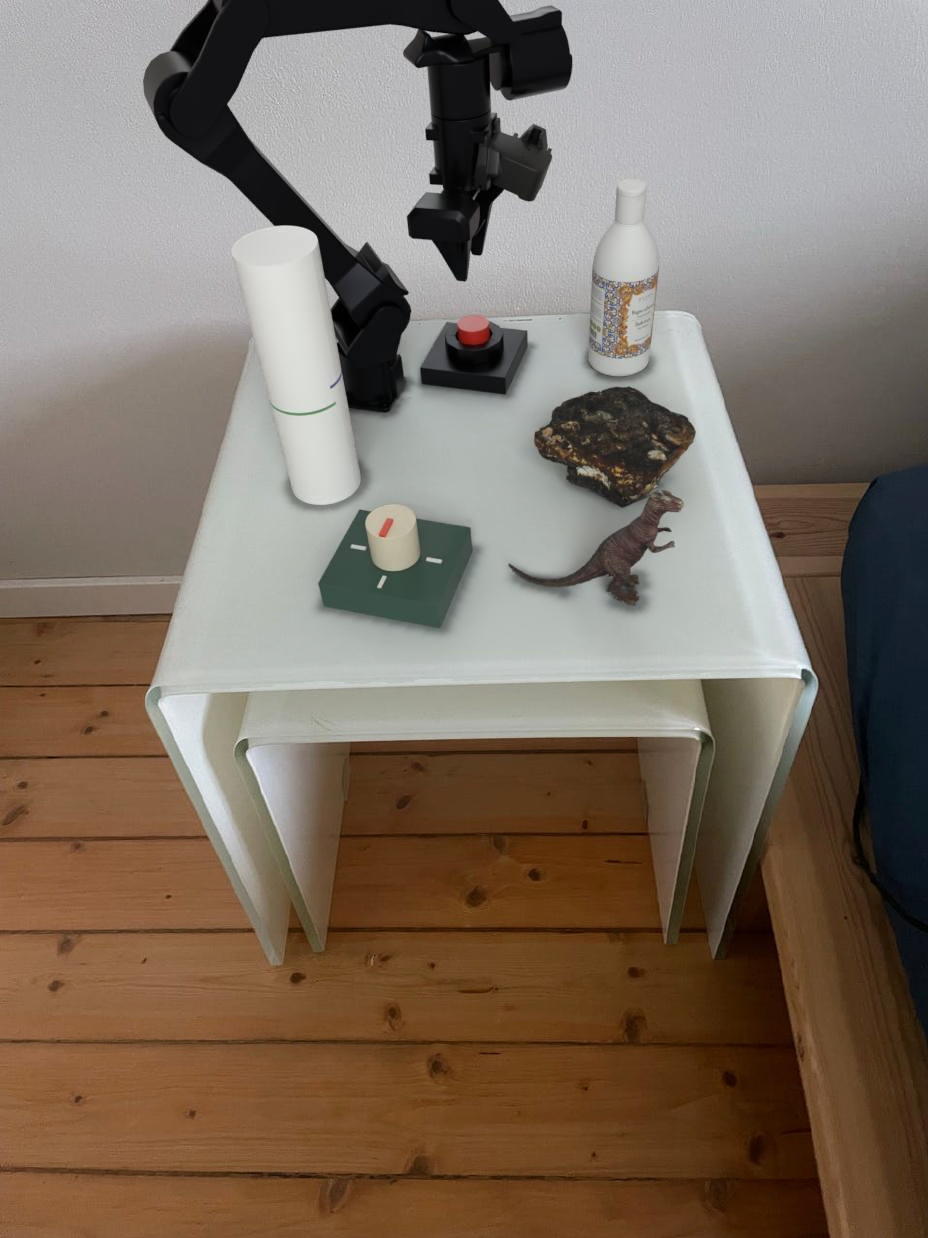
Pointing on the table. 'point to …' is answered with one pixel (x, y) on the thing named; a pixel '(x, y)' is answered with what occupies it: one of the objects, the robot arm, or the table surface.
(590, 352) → the bath foam
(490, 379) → the button box
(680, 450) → the fossil rock
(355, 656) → the table surface
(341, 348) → the robot arm
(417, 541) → the dial knob
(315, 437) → the cylindrical container
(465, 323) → the button
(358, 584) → the dial panel
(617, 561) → the dinosaur model
